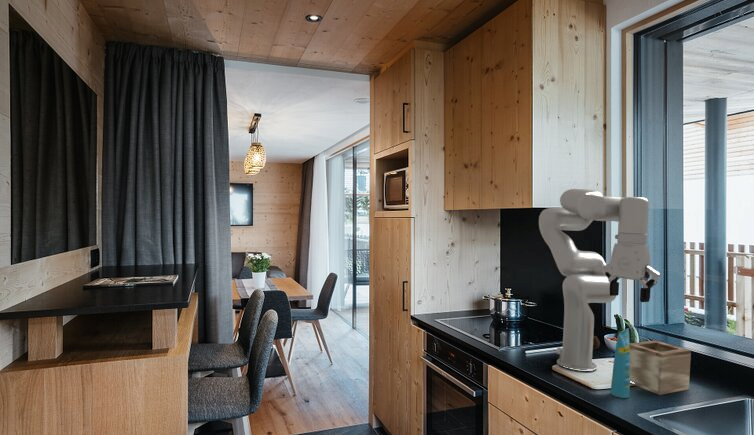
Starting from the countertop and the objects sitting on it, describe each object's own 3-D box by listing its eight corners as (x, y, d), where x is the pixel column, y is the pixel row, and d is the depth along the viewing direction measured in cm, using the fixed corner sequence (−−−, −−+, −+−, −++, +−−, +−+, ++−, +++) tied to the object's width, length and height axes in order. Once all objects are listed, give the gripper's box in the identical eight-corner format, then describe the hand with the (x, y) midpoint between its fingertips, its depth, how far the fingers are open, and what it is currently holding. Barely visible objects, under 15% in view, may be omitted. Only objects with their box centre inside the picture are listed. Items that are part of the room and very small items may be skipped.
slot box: (624, 381, 152) (626, 343, 152) (653, 376, 158) (655, 340, 158) (660, 394, 142) (662, 354, 141) (688, 389, 147) (691, 350, 147)
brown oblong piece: (564, 355, 184) (592, 351, 190) (573, 352, 180) (602, 348, 186) (558, 340, 186) (587, 336, 193) (567, 337, 182) (596, 333, 189)
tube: (625, 401, 135) (629, 333, 135) (607, 396, 139) (611, 330, 138) (632, 394, 141) (635, 329, 141) (614, 389, 144) (617, 326, 144)
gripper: (597, 237, 145) (594, 293, 145) (652, 242, 130) (648, 305, 130) (614, 237, 148) (611, 292, 149) (669, 242, 133) (666, 303, 133)
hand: (628, 298), depth 139 cm, fingers open, 9 cm apart
